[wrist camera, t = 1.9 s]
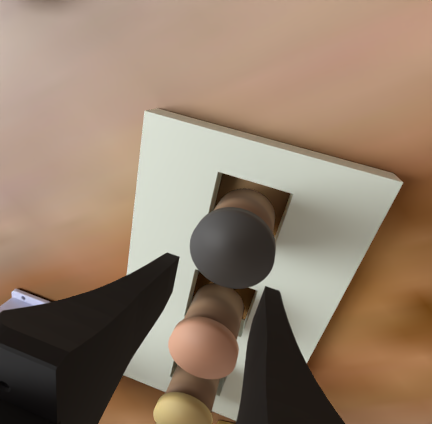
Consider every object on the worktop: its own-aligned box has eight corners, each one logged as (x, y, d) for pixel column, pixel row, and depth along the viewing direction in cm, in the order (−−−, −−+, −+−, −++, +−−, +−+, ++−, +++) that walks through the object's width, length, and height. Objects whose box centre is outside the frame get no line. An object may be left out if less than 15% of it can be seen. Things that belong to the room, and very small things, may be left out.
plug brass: (172, 376, 28) (150, 428, 24) (180, 343, 26) (157, 393, 22) (217, 394, 28) (203, 451, 23) (229, 362, 26) (216, 417, 21)
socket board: (126, 356, 32) (116, 372, 30) (157, 108, 21) (144, 110, 19) (270, 413, 30) (268, 434, 28) (393, 172, 19) (403, 182, 17)
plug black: (205, 235, 21) (183, 272, 17) (220, 175, 19) (198, 201, 15) (268, 255, 21) (260, 299, 16) (289, 196, 19) (287, 229, 14)
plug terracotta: (186, 315, 25) (163, 363, 21) (197, 272, 23) (173, 315, 19) (239, 334, 24) (227, 388, 20) (254, 292, 22) (244, 341, 18)
